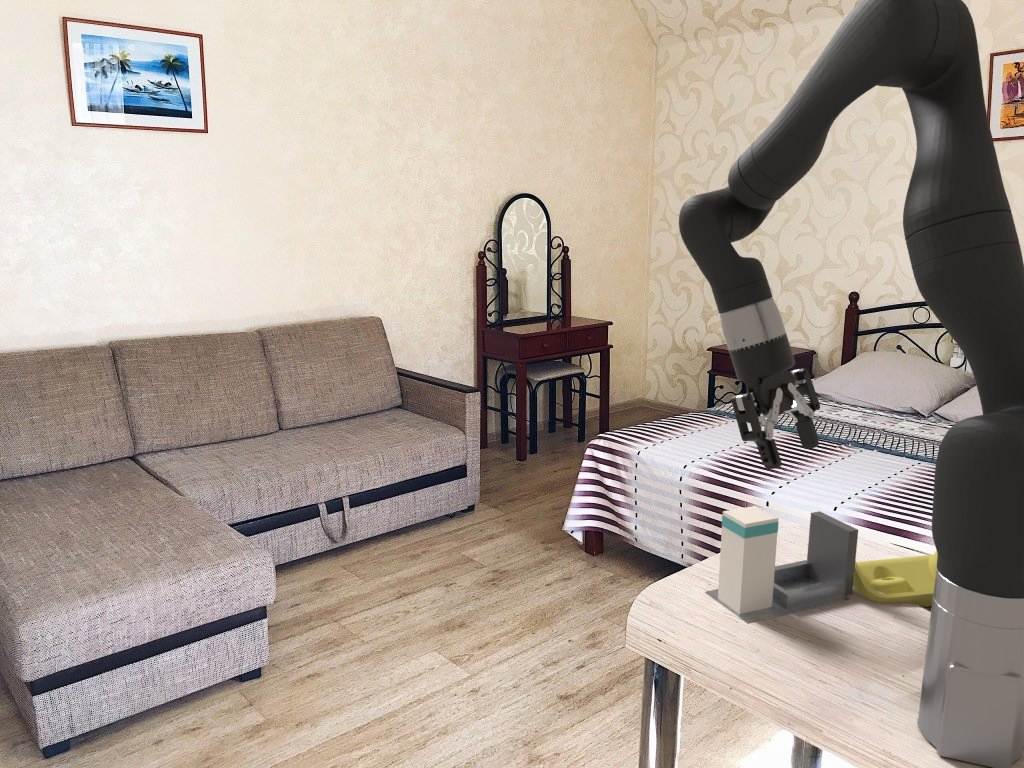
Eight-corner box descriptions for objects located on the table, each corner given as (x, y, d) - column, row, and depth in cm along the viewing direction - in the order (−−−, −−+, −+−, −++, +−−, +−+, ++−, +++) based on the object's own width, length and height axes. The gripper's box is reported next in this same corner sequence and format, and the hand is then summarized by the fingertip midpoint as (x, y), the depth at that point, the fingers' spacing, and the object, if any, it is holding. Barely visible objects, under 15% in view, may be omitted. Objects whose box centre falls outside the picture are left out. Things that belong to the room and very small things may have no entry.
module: (739, 614, 106) (745, 524, 103) (717, 598, 110) (722, 511, 107) (772, 606, 107) (778, 518, 105) (749, 591, 112) (755, 505, 109)
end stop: (842, 606, 111) (849, 531, 108) (804, 584, 117) (810, 512, 115) (851, 604, 111) (858, 529, 109) (813, 582, 118) (819, 511, 115)
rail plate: (747, 634, 104) (748, 608, 103) (703, 602, 112) (705, 577, 111) (847, 610, 110) (850, 585, 109) (799, 581, 118) (801, 558, 117)
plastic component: (870, 599, 108) (840, 539, 116) (858, 633, 113) (829, 573, 120) (1021, 584, 109) (980, 525, 117) (1002, 619, 113) (965, 560, 121)
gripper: (746, 346, 103) (785, 473, 103) (811, 320, 111) (847, 438, 112) (700, 358, 109) (737, 477, 109) (765, 332, 117) (800, 443, 118)
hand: (793, 457), depth 110 cm, fingers open, 8 cm apart
